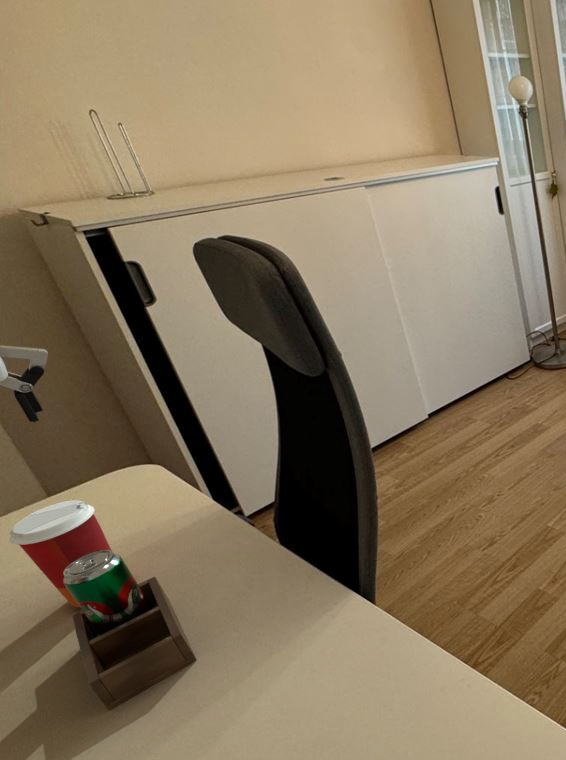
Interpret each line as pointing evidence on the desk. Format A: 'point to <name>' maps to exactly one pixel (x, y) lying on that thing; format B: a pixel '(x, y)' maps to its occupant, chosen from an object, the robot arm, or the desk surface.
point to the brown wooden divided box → (134, 649)
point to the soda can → (105, 590)
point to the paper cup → (59, 539)
